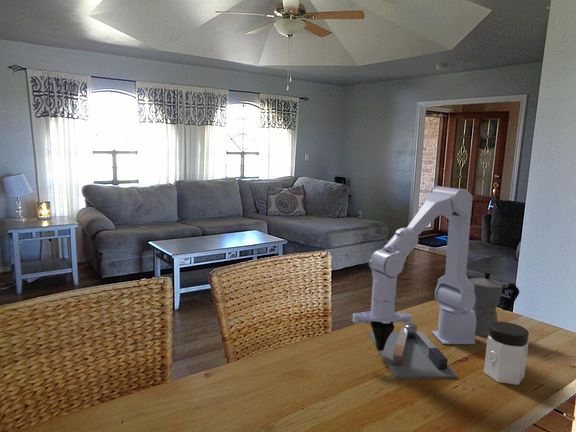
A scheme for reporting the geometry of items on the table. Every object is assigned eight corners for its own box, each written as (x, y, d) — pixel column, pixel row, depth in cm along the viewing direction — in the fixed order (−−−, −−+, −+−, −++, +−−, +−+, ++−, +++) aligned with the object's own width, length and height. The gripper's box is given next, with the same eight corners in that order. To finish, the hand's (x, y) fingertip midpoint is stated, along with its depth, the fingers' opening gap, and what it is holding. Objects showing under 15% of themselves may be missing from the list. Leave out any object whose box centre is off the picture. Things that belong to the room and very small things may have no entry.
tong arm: (401, 331, 124) (402, 321, 124) (416, 334, 123) (417, 324, 122) (392, 363, 106) (393, 352, 105) (410, 367, 104) (411, 355, 104)
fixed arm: (414, 339, 119) (414, 331, 119) (421, 339, 120) (422, 331, 119) (438, 369, 104) (439, 359, 103) (446, 369, 104) (447, 359, 103)
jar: (476, 368, 107) (481, 322, 105) (502, 364, 109) (508, 319, 107) (504, 387, 98) (510, 338, 96) (532, 383, 101) (538, 334, 99)
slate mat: (368, 334, 124) (368, 332, 124) (419, 334, 125) (419, 332, 125) (395, 378, 100) (395, 376, 100) (457, 377, 102) (457, 375, 102)
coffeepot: (457, 332, 127) (464, 273, 124) (457, 321, 136) (462, 265, 133) (516, 342, 122) (523, 281, 119) (511, 329, 131) (518, 272, 128)
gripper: (358, 303, 103) (355, 356, 105) (417, 303, 104) (413, 356, 107) (352, 293, 110) (349, 343, 112) (407, 293, 111) (403, 343, 113)
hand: (379, 348), depth 110 cm, fingers closed
